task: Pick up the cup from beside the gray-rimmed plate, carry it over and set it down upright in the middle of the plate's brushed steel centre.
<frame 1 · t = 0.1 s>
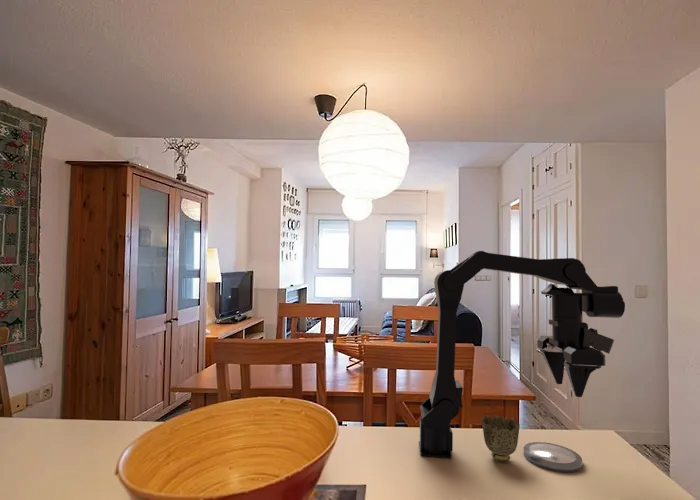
hand: (568, 390, 81), 15 cm above the kitchen counter, tool pointing down, fingers open, 9 cm apart
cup: (500, 460, 80), on the kitchen counter
gray-rimmed plate: (552, 459, 80), on the kitchen counter
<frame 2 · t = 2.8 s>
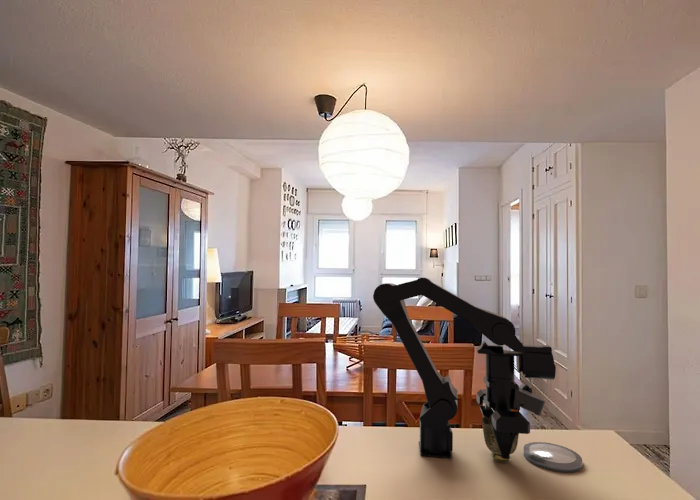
hand: (500, 450, 80), 2 cm above the kitchen counter, tool pointing down, fingers closed on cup, 6 cm apart
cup: (500, 460, 80), on the kitchen counter, touching gripper
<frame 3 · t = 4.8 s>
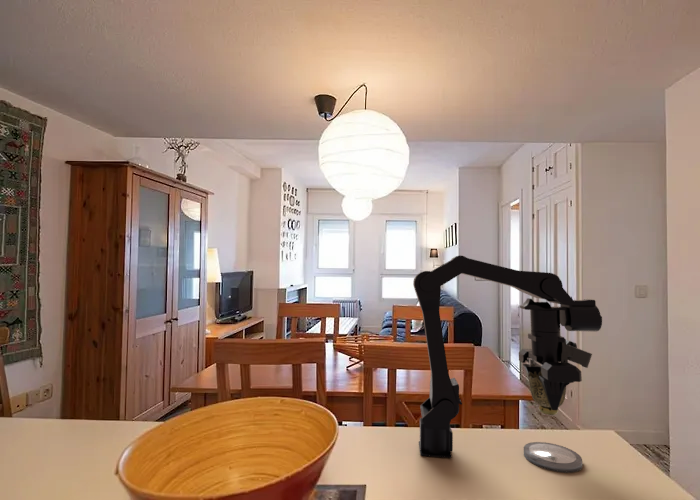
hand: (548, 404, 81), 11 cm above the kitchen counter, tool pointing down, fingers closed on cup, 6 cm apart
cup: (548, 414, 81), point 9 cm above the kitchen counter, touching gripper
when the fingers open (4 cm above the kitchen counter, at t = 7.0 s): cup drops 1 cm, resting on gray-rimmed plate.
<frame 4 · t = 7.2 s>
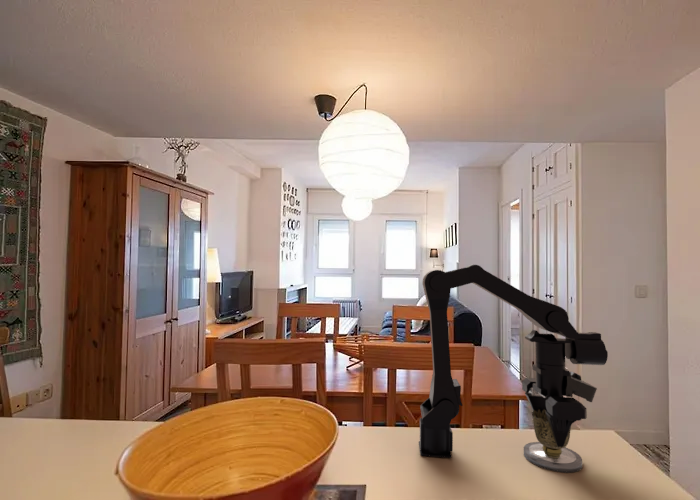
hand: (551, 437, 81), 4 cm above the kitchen counter, tool pointing down, fingers open, 8 cm apart
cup: (552, 454, 80), point 1 cm above the kitchen counter, touching gray-rimmed plate
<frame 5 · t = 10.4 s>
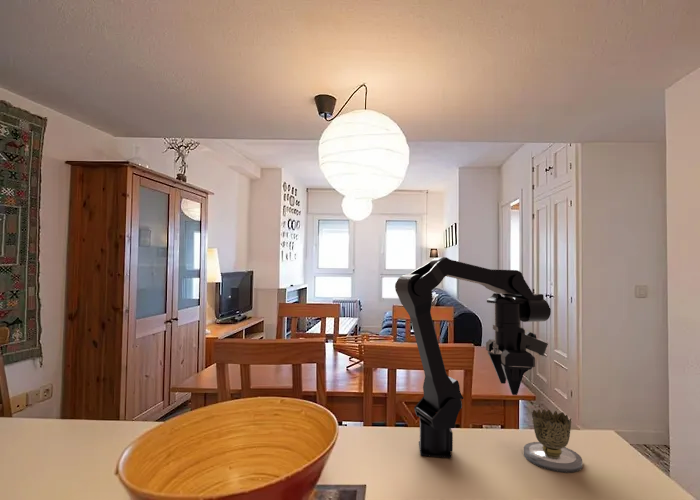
hand: (508, 388, 90), 12 cm above the kitchen counter, tool pointing down, fingers open, 9 cm apart
nothing on the kitchen counter moved.
at the end: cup 0.3 cm off-centre on the gray-rimmed plate, point 1.1 cm above the gray-rimmed plate's base; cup tilted 0°; the gripper is holding nothing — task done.
